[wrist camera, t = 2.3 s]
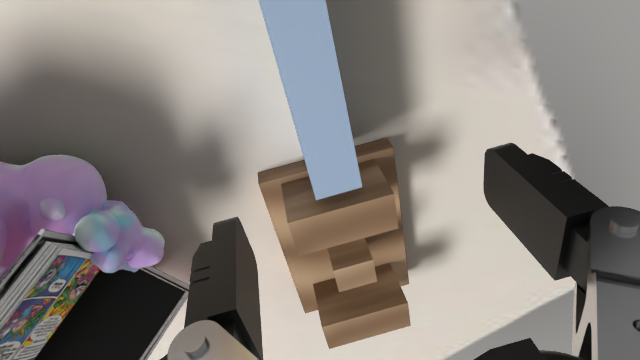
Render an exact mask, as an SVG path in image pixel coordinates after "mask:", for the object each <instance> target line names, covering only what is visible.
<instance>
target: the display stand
mask: <svg viewBox="0 0 640 360" xmlns="http://www.w3.org/2000/svg"><path fill="white" fill-rule="evenodd" d="M355 152H356V157H357V162H358V167H359V172H360V178H361V183H362V187H361V188H357V189H354V190H350V191H347V192H343V193H340V194H336V195H333V196H329V197H326V198H323V199H319V200H316V198H315V195H314V191H313V188H312V184H311V181H310V177H309V174H308V170H307V167H306V163H305V160H304V161H300V162H296V163H293V164H289V165H285V166H282V167H278V168H274V169H270V170H267V171H263V172H259V173H258V182H259V186H260V189H261V192H262V195H263V197H264V200H265V203H266V206H267V209H268V211H269V214H270V217H271V220H272V222H273V225H274V228H275V231H276V234H277V236H278V239H279V242H280V245H281V248H282V250H283V253H284V256H285V259H286V261H287V264H288V267H289V270H290V273H291V275H292V278H293V281H294V284H295V286H296V289H297V292H298V295H299V298H300V300H301V303H302V306H303V309H304V311H305V313H308V312H312V311H315V310H319V315H320V320H321V325H322V329H323V332H324V335H325V338H326V341H327V344H328V347H329V349H330V348H334V347H337V346H341V345H344V344H348V343H351V342H355V341H358V340H362V339H365V338H369V337H372V336H376V335H379V334H383V333H386V332H390V331H393V330H397V329H400V328H404V327H407V326H411V325H410V317H409V309H408V302H407V300H406V298H405V296H404V293H403V291H402V289H401V287H400V286H403V285H407V284H409V279H408V270H407V262H406V253H405V245H404V236H403V227H402V219H401V210H400V201H399V193H398V184H397V175H396V167H395V158H394V150H393V146H392V145H391V143H390V142H389V140H388V139H387V138H385V139H381V140H377V141H374V142H370V143H366V144H363V145H359V146H355Z"/></svg>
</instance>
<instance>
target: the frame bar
mask: <svg viewBox="0 0 640 360" xmlns="http://www.w3.org/2000/svg"><path fill="white" fill-rule="evenodd" d="M259 3H260V6H261V10H262V13H263V17H264V20H265V24H266V27H267V31H268V34H269V38H270V41H271V45H272V48H273V52H274V55H275V59H276V62H277V66H278V69H279V73H280V76H281V80H282V83H283V87H284V90H285V94H286V97H287V101H288V104H289V108H290V111H291V115H292V118H293V122H294V125H295V129H296V132H297V136H298V139H299V142H300V146H301V149H302V153H303V156H304V160H305V163H306V167H307V170H308V174H309V177H310V181H311V184H312V188H313V191H314V195H315V198H316V200H319V199H323V198H326V197H329V196H333V195H336V194H340V193H343V192H347V191H350V190H354V189H357V188H361V187H362V183H361V178H360V172H359V167H358V162H357V157H356V152H355V147H354V142H353V137H352V132H351V127H350V122H349V117H348V112H347V107H346V102H345V96H344V91H343V86H342V81H341V76H340V71H339V66H338V61H337V56H336V51H335V46H334V41H333V36H332V31H331V26H330V21H329V15H328V10H327V5H326V0H259Z"/></svg>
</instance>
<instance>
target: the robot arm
mask: <svg viewBox="0 0 640 360" xmlns="http://www.w3.org/2000/svg"><path fill="white" fill-rule="evenodd" d="M484 194H485V198H486V200H487V202H488V204H489V206H490V207H491V208H492V209H493V211H494V212H495V213H496V214H497V215H498V216H499V217H500V219H501V220H502V221H503V222H504V223H505V224H506V225H507V227H508V228H509V229H510V230H511V231H512V232H513V233H514V235H515V236H516V237H517V238H518V239H519V240H520V241H521V243H522V244H523V245H524V246H525V247H526V248H527V249H528V251H529V252H530V253H531V254H532V255H533V256H534V257H535V259H536V260H537V261H538V262H539V263H540V264H541V265H542V267H543V268H544V269H545V270H546V271H547V272H548V273H549V274H550V276H551V277H552V278H553V279H554V280H559V279H562V278H566V277H569V276H571V277H572V278H573V279H574V280H575V281H576V283H575V287H574V310H573V342H572V352H571V355H570V354H566V353H561V352H555V351H544V350H538V348H537V347H536V346H535V344H534V343H533V341H532V340H531V339H530V338H528V339H525V340H521V341H518V342H514V343H511V344H507V345H504V346H501V347H497V348H493V349H490V350H489V351H487V352H485V353H484V354H482V355H481V356H479V357H477V358H476V359H474V360H640V211H638V210H635V209H631V208H627V207H619V206H611V207H609V206H608V205H607V204H605V203H604V202H603V201H601V200H600V199H599V198H598V197H596V196H595V195H594V194H592V193H591V192H589V191H588V190H587V189H586V188H585V187H583V186H582V185H581V184H580V183H578V182H577V181H576V180H574V179H573V180H572V177H571V176H569V175H568V174H567V173H566V172H562V169H560V168H559V167H558V166H557V165H555V164H554V163H553V162H551V161H550V160H548V159H546V158H543V157H540V156H538V155H535V154H533V153H532V154H529V155H527V154H526V153H525V152H524V151H523V150H521V149H520V148H519V147H518V146H516V145H515V144H513V143H508V144H505V145H501V146H497V147H494V148H490V149H487V150H486V152H485V163H484ZM191 272H192V273H191V277H190V285H189V293H188V301H187V309H186V317H185V325H184V329H183V330H182V331H180V332H179V333H178V334H177V336H176V337H175V338H174V340H173V341H172V343H171V345H170V347H169V350H168V354H167V355H166V356H164V357H163V358H162V359H160V360H263V350H262V334H261V319H260V303H259V287H258V271H257V264H256V260H255V256H254V253H253V250H252V248H251V246H250V243H249V241H248V238H247V236H246V234H245V231H244V229H243V226H242V224H241V222H240V220H239V218H238V217H235V218H231V219H227V220H224V221H220V222H216V223H214V224H213V234H212V241H209V242H205V243H201V244H200V246H199V248H198V250H197V251H196V253H195V255H194V256H193V260H192V268H191Z"/></svg>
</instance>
